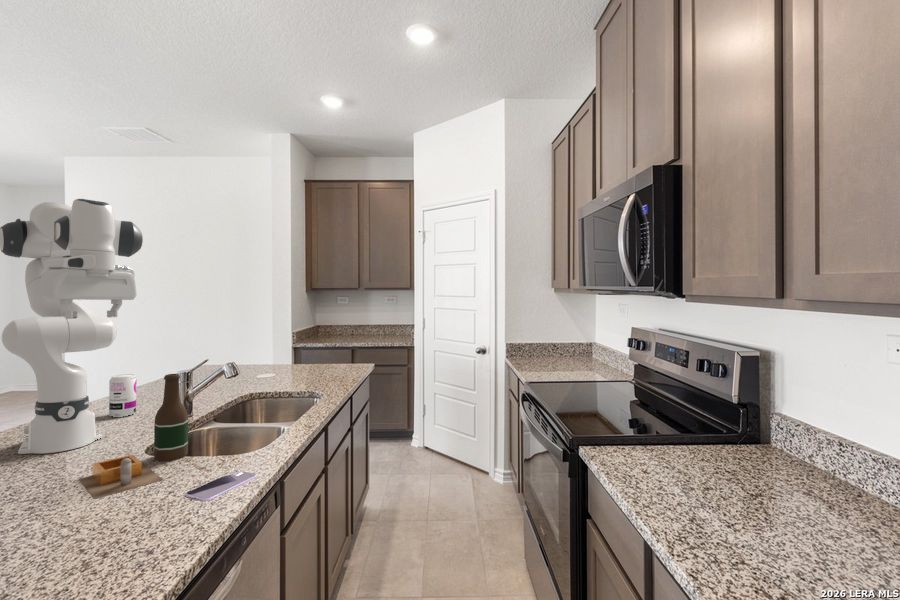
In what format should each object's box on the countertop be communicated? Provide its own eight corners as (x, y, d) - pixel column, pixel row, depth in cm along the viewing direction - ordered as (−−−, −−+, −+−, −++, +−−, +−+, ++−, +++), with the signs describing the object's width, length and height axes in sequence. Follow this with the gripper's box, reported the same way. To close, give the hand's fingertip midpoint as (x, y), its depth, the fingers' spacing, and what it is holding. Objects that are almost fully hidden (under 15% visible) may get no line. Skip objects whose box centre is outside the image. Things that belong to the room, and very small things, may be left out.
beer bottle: (171, 468, 113) (172, 377, 113) (146, 465, 114) (147, 376, 114) (194, 457, 121) (195, 372, 120) (171, 455, 122) (171, 371, 122)
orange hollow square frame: (92, 475, 104) (92, 463, 104) (132, 466, 110) (132, 454, 110) (100, 485, 99) (100, 472, 99) (141, 474, 105) (141, 462, 105)
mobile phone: (182, 492, 98) (236, 468, 112) (182, 497, 98) (236, 472, 112) (207, 498, 95) (259, 473, 109) (207, 503, 95) (259, 477, 109)
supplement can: (135, 411, 168) (135, 373, 168) (136, 415, 161) (137, 376, 161) (108, 414, 163) (109, 375, 163) (109, 419, 156) (109, 378, 156)
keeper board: (78, 484, 102) (78, 453, 102) (143, 468, 112) (143, 440, 112) (94, 505, 92) (94, 471, 92) (163, 486, 102) (164, 454, 102)
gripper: (125, 266, 119) (125, 316, 119) (36, 259, 99) (35, 319, 99) (142, 266, 117) (142, 316, 117) (54, 259, 97) (54, 319, 97)
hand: (92, 318), depth 108 cm, fingers open, 8 cm apart
